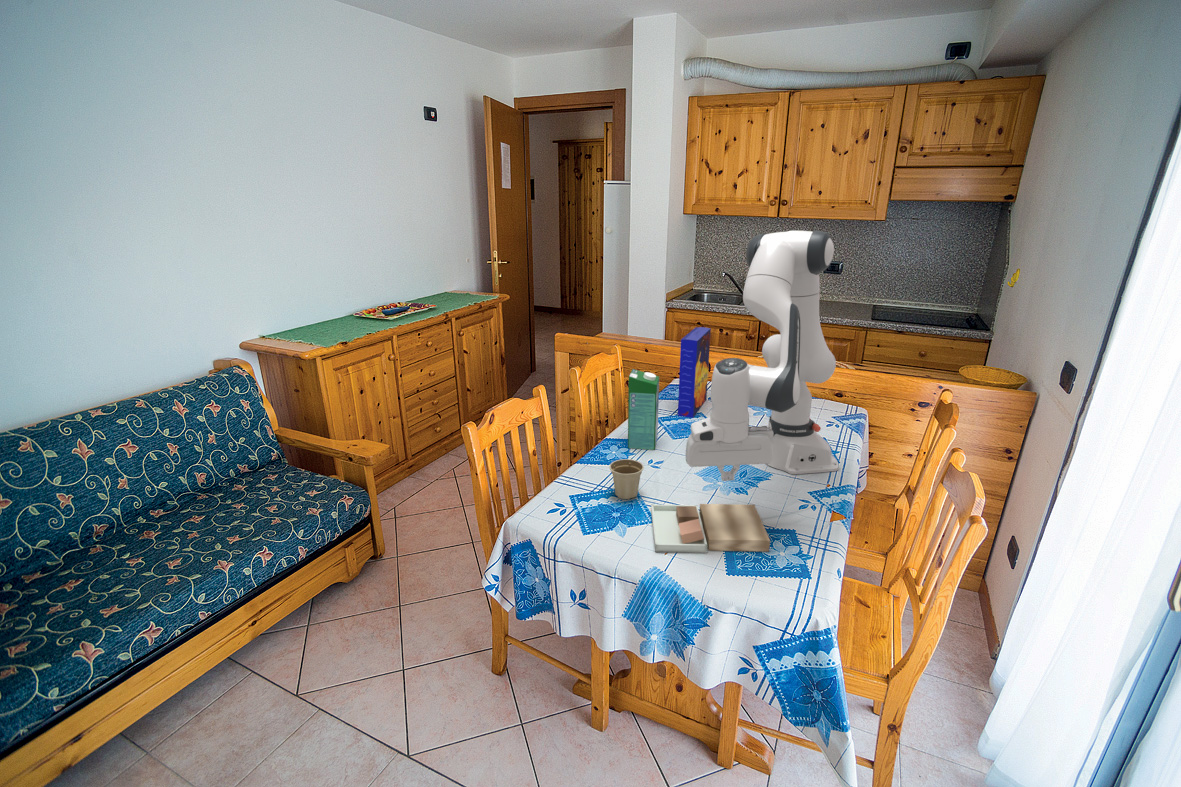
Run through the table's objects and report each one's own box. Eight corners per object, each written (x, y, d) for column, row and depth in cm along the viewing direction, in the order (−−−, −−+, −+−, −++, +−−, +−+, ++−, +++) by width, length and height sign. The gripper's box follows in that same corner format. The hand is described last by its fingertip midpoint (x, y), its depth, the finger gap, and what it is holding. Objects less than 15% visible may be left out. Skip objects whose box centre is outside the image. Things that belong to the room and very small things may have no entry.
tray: (696, 511, 147) (697, 505, 146) (707, 552, 130) (707, 545, 129) (651, 511, 147) (651, 504, 147) (655, 551, 130) (655, 544, 130)
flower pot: (607, 486, 160) (607, 459, 157) (640, 485, 161) (640, 457, 158) (611, 503, 151) (611, 475, 148) (645, 501, 152) (646, 473, 149)
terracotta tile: (701, 527, 136) (698, 518, 135) (704, 539, 132) (701, 530, 131) (681, 531, 137) (678, 523, 136) (683, 543, 132) (680, 535, 131)
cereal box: (693, 417, 209) (697, 340, 199) (677, 415, 212) (681, 338, 202) (706, 399, 228) (710, 327, 218) (692, 397, 230) (695, 326, 220)
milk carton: (655, 450, 183) (657, 377, 174) (627, 448, 185) (628, 376, 176) (657, 439, 191) (659, 369, 183) (631, 437, 193) (632, 368, 185)
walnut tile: (695, 514, 144) (695, 506, 143) (698, 525, 140) (698, 516, 139) (676, 514, 144) (676, 506, 144) (678, 525, 140) (678, 516, 139)
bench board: (753, 514, 145) (754, 504, 144) (768, 551, 130) (770, 540, 129) (699, 513, 146) (699, 503, 145) (708, 550, 131) (709, 539, 130)
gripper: (770, 420, 133) (767, 471, 138) (684, 424, 134) (684, 475, 139) (777, 431, 127) (774, 484, 132) (688, 435, 128) (688, 487, 133)
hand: (727, 479), depth 136 cm, fingers closed
